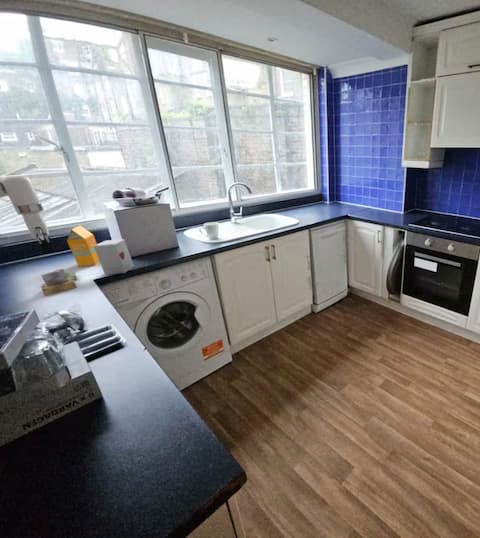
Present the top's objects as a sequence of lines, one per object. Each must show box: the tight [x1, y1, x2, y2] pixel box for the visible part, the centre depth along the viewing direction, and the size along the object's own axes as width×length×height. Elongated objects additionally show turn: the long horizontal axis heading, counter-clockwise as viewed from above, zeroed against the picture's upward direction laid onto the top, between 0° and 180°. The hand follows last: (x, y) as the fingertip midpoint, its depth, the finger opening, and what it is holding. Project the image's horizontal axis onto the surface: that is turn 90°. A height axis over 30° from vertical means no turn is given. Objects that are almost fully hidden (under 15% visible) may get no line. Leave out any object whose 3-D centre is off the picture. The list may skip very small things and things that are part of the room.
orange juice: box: [66, 224, 100, 268], centre depth 154 cm, size 8×9×20 cm
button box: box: [64, 270, 78, 282], centre depth 136 cm, size 10×7×4 cm
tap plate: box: [40, 277, 77, 296], centre depth 129 cm, size 11×11×3 cm
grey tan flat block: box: [41, 268, 69, 286], centre depth 127 cm, size 7×2×5 cm, turn 135°
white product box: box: [94, 238, 135, 276], centre depth 144 cm, size 9×9×15 cm
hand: (49, 249), depth 123 cm, fingers open, 9 cm apart
